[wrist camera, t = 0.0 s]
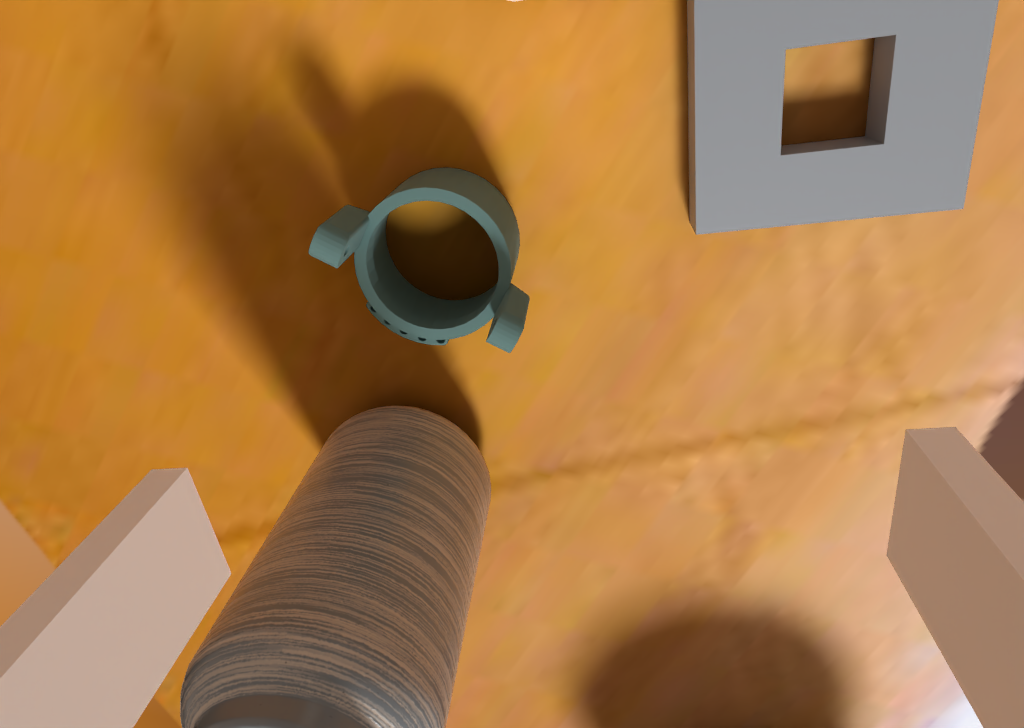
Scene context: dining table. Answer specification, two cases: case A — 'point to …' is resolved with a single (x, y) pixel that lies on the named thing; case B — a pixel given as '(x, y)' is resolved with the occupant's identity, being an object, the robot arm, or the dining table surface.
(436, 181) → the bracket
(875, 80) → the board
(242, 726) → the vase
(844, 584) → the dining table surface
